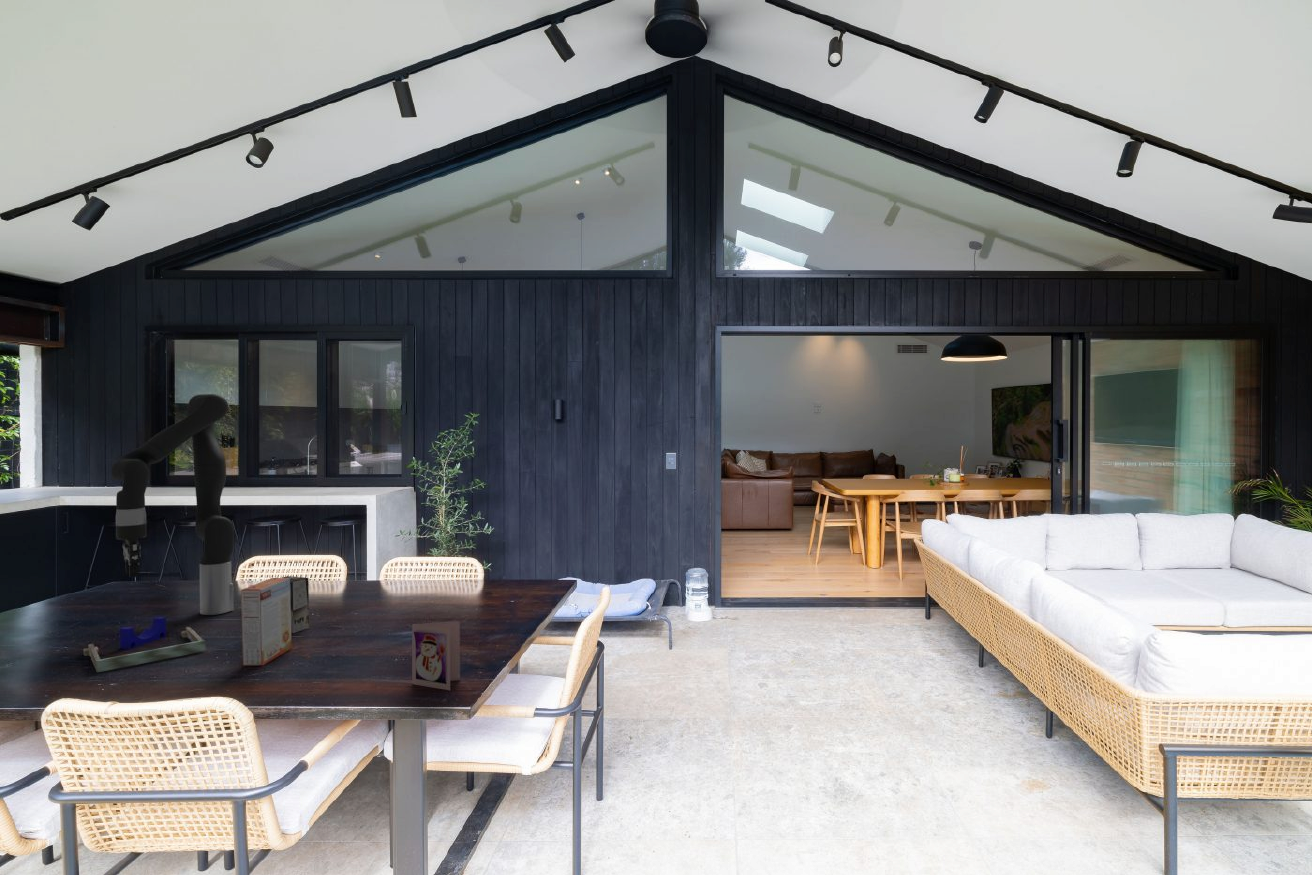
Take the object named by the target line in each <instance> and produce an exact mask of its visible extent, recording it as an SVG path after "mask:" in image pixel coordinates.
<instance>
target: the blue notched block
mask: <svg viewBox="0 0 1312 875" xmlns="http://www.w3.org/2000/svg"><path fill="white" fill-rule="evenodd" d="M134 629H135V628H134V627H131V626H130V627H129V626H124V627H121V628H119V649H121V648H123V650H130V648H131V649H133V648H136V646H137V647H139V646H142V645H145V644H148V643H151V642H153V641H157V640H160V639H164V638H166V637H167V617H164V616H163V617H162V616H155V617H153V618H152V625H151V627H147V628H146V629H144V631H143V632H142V633H141V634H139V635H138V636H137V634H136V633H135V631H134Z"/></svg>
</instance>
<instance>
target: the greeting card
mask: <svg viewBox="0 0 1312 875" xmlns="http://www.w3.org/2000/svg"><path fill="white" fill-rule="evenodd" d="M460 628H461V624H460V620H455V621H454V620H453V621H441V622H440V621H439V622H427V623H413V624H411V651H412V652H411V659H412V660H411V662H412V664H411V665H412V667H411V668H412V673H411V676H412V677H411V678H412V685H416V686H422V687H428V688H434V689H439V690H440V689H441V690H443V691H444V690H446V691H451V681H452V682H453V681H460V680H461V653H460V652H461V650H460V649H461V645H460V644H461V641H460V640H461V634H460V633H461V630H460Z"/></svg>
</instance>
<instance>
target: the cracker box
mask: <svg viewBox="0 0 1312 875" xmlns="http://www.w3.org/2000/svg"><path fill="white" fill-rule="evenodd" d="M240 598H241V599H240V601H241V603H240V606H241V607H240V608H241V639H242V642H241V643H242V646H241V647H242V665H243V666H244V667H250V666H251V667H253V666H254V667H256V666H257V667H259V666H260V667H263V666H265V665H267V664H268V663H269V662H271V661H273V660H275V659H276V658H278V657H280V656H281V655H283V654H285V653H286V652H288V651H290V650H292V633H291V608H290V578H282V577H271V578H268V579H266V580H262V581H260V582H258V583H256V584H253V585H250V586H247V587H245V588H243V589H241V590H240Z"/></svg>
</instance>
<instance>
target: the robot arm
mask: <svg viewBox="0 0 1312 875" xmlns="http://www.w3.org/2000/svg"><path fill="white" fill-rule="evenodd" d="M228 411H229V402H228V401H227V399H226V398H225V397H224V396H222V395H220V394H214V393H205V394H196V395H193V397H191V398H190V399H189V401H188V404H187V413H188V414H187V416H186V417H184V418H183V419H181V420H179V421H177V422H176V423H174V424H172V425H169V426H168V427H166V428H164V429H162V430H161V431H159V432H158V433H156V434H154V436H152V437H151V438H150V439H148V440H147V441H146V442H145V443H144V444H142V445H141V446H139V447H138V448H136V449H134V450H132V451H130V452H129V453H126V454H125V455H123V456H122V457H120V458H119V459H117V460H116V461H115V462H114V463H113V465H112V466H111V469H110V472H111V475H112V477H113V478H114V479H115V480H116V481H121V482H122V489H121V490H118V492H117V493H116V496H115V497H116V498H115V499H116V505H115V506H116V513H115V538H116V540H120V541H123V544H122V549H123V552H122V554H123V555H122V556H123V559H124V561H125V573H126V574H128V575H129V577H130V578H138V577H139V576H140V575H139V574H140V572H139V571H140V570H139V567H140V566H139V565H140V563H141V543H139V542H138V540H139V539H143V538H146V537H147V512H146V498H145V497H146V496H145V494H146V490H147V488H148V487H147V486H148V483H149V478H150V469H149V466H150V465H153V464H157V463H159V462H161V461H163V460H165V458H166V457H168V456H169V455H170V454H171V453H173V452H174V451H175V450H176V449H177V448H179V447H180V446H182V444H184V443H185V442H187V441H188V440H190V439H192V440H191V441H192V452H193V474H194V475H193V476H194V487H195V498H196V511H195V512H196V513H195V529H194V530H195V534H196V537H198V538H199V539H200V540H201V541H203V542H204V544H203V545H204V546H203V548H204V549H203V552H202V553H201V554H200V556H199V560H198V561H199V614H200V615H202V616H215V615H221V614H225V613H229V612H232V611H234V583H232V556H233V554H234V549H235V547H234V546H235V545H234V544H235V526H234V524H233V522H232V520H231V519H229V517H228V518H227V517H225V516H222V509H221V499H222V498H221V497H222V494H223V491H224V487H225V484H226V480H227V467H226V457H225V454H224V452H223V449H222V447H221V446H220V444H219V442H218V440H217V437H216V434H215V423H216V422H217V421H220V420H221V419H223V418H224V417H225V416H226V415H227V413H228Z"/></svg>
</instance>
